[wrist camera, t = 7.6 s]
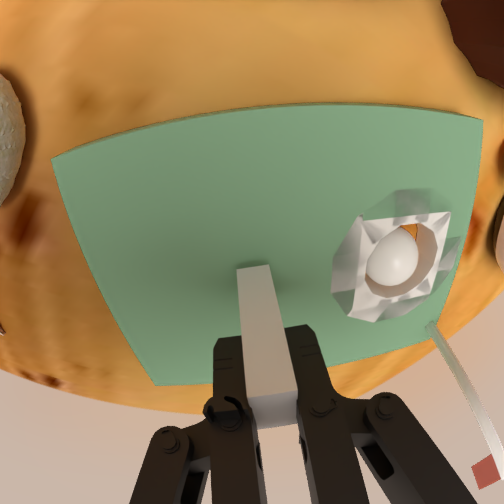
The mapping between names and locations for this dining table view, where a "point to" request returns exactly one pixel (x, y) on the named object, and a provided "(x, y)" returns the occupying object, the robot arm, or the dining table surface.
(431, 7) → the dining table surface
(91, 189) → the green
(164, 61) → the dining table surface
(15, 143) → the sea urchin shell
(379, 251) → the ball
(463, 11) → the muffin
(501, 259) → the spread jar
